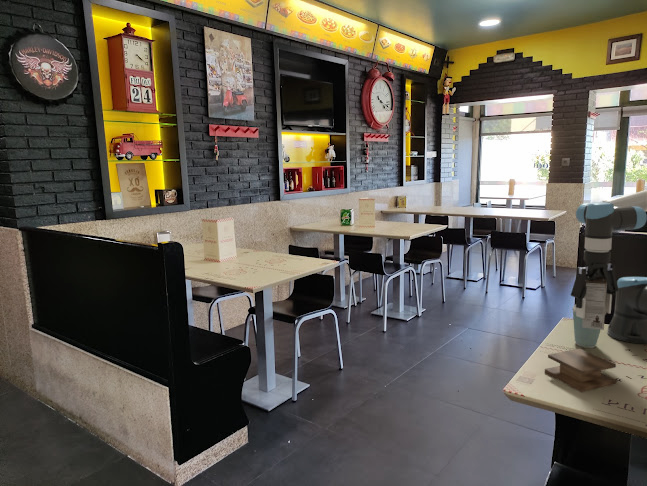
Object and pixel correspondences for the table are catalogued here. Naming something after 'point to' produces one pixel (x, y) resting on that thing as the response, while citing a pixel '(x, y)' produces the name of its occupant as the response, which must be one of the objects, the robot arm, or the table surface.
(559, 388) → the table surface
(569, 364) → the pedestal
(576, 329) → the disposable coffee cup
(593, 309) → the coffee box
